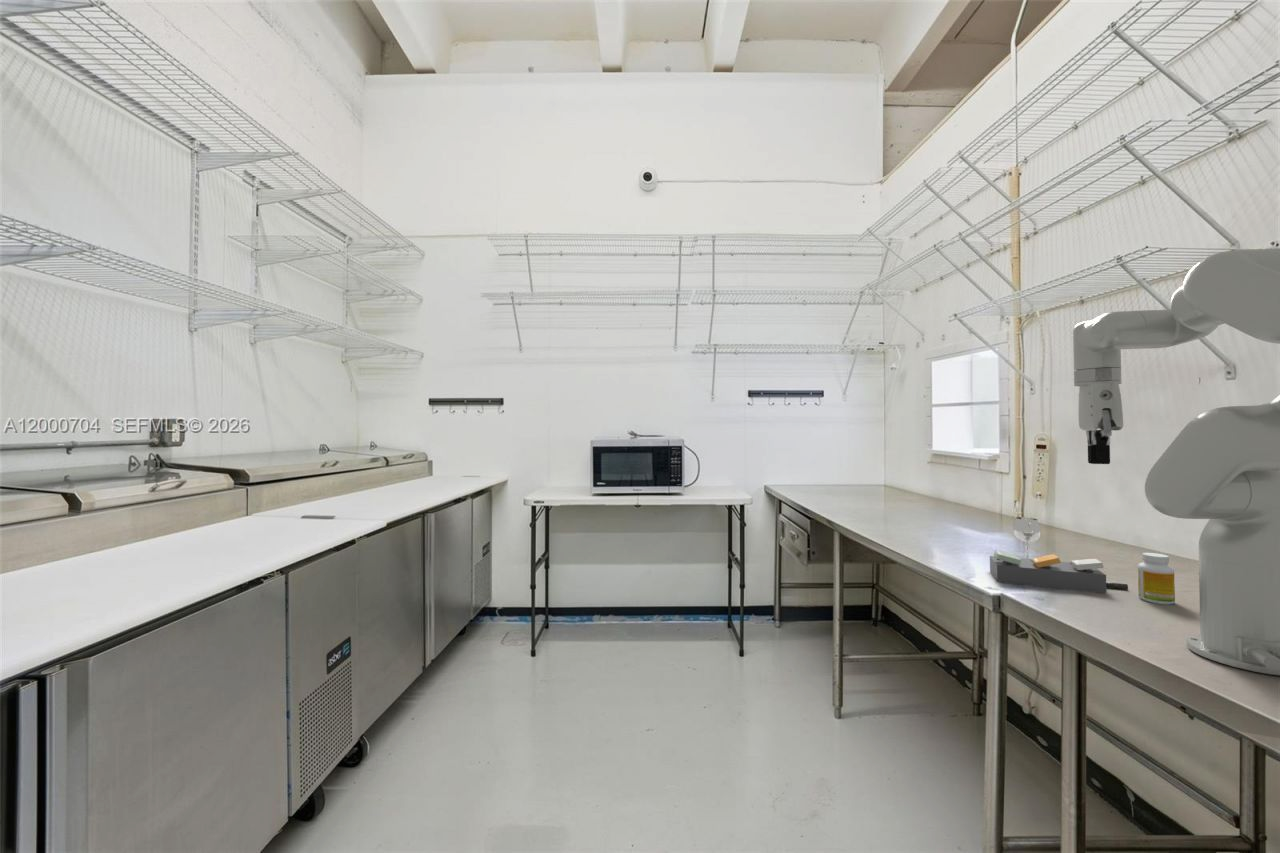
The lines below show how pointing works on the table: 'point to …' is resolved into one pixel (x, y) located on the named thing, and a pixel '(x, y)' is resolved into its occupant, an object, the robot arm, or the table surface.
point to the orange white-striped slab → (1046, 560)
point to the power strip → (1051, 576)
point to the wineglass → (1027, 531)
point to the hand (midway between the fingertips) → (1098, 463)
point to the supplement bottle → (1156, 579)
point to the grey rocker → (1087, 564)
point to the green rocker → (1007, 557)
